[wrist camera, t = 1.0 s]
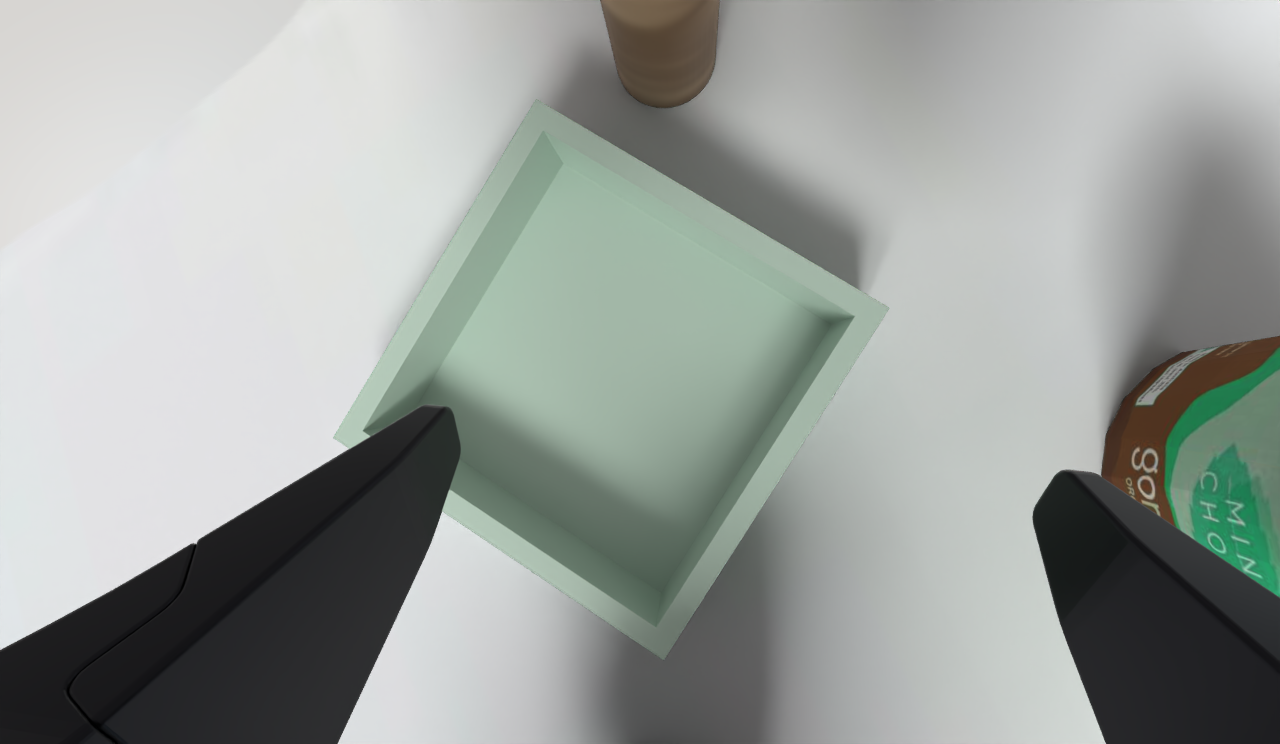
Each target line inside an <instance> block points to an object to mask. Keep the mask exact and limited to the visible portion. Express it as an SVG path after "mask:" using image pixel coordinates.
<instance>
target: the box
mask: <svg viewBox="0 0 1280 744" xmlns="http://www.w3.org/2000/svg"><path fill="white" fill-rule="evenodd" d="M888 310H889V307H887V306H885V305H884V304H882V303H880V302H879V301H877V300H875V299H873V298H872V297H870V296H868V295H867V294H865V293H863V292H862V291H860V290H858V289H857V288H855V287H853V286H851V285H850V284H848V283H846V282H845V281H843V280H841V279H840V278H838V277H836V276H835V275H833V274H831V273H829V272H828V271H826V270H824V269H823V268H821V267H819V266H818V265H816V264H814V263H813V262H811V261H809V260H807V259H806V258H804V257H802V256H801V255H799V254H797V253H796V252H794V251H792V250H791V249H789V248H787V247H786V246H784V245H782V244H780V243H779V242H777V241H775V240H774V239H772V238H770V237H769V236H767V235H765V234H764V233H762V232H760V231H758V230H757V229H755V228H753V227H752V226H750V225H748V224H747V223H745V222H743V221H742V220H740V219H738V218H736V217H735V216H733V215H731V214H730V213H728V212H726V211H725V210H723V209H721V208H720V207H718V206H716V205H715V204H713V203H711V202H709V201H708V200H706V199H704V198H703V197H701V196H699V195H698V194H696V193H694V192H693V191H691V190H689V189H687V188H686V187H684V186H682V185H681V184H679V183H677V182H676V181H674V180H672V179H671V178H669V177H667V176H665V175H664V174H662V173H660V172H659V171H657V170H655V169H654V168H652V167H650V166H649V165H647V164H645V163H644V162H642V161H640V160H638V159H637V158H635V157H633V156H632V155H630V154H628V153H627V152H625V151H623V150H622V149H620V148H618V147H616V146H615V145H613V144H611V143H610V142H608V141H606V140H605V139H603V138H601V137H600V136H598V135H596V134H594V133H593V132H591V131H589V130H588V129H586V128H584V127H583V126H581V125H579V124H578V123H576V122H574V121H572V120H571V119H569V118H567V117H566V116H564V115H562V114H561V113H559V112H557V111H556V110H554V109H552V108H551V107H549V106H547V105H545V104H544V103H542V102H540V101H539V100H537V99H536V100H535V102H534V103H533V105H532V107H531V108H530V110H529V112H528V113H527V115H526V117H525V118H524V120H523V122H522V123H521V125H520V127H519V128H518V130H517V132H516V133H515V135H514V137H513V138H512V140H511V142H510V143H509V145H508V147H507V148H506V150H505V152H504V153H503V155H502V157H501V158H500V160H499V162H498V163H497V165H496V167H495V168H494V170H493V172H492V173H491V175H490V177H489V178H488V180H487V182H486V183H485V185H484V187H483V188H482V190H481V192H480V193H479V195H478V197H477V198H476V200H475V202H474V203H473V205H472V207H471V208H470V210H469V212H468V213H467V215H466V217H465V218H464V220H463V222H462V224H461V225H460V227H459V229H458V230H457V232H456V234H455V235H454V237H453V239H452V240H451V242H450V244H449V245H448V247H447V249H446V250H445V252H444V254H443V255H442V257H441V259H440V260H439V262H438V264H437V265H436V267H435V269H434V270H433V272H432V274H431V275H430V277H429V279H428V280H427V282H426V284H425V285H424V287H423V289H422V290H421V292H420V294H419V295H418V297H417V299H416V300H415V302H414V304H413V305H412V307H411V309H410V310H409V312H408V314H407V315H406V317H405V319H404V320H403V322H402V324H401V325H400V327H399V329H398V330H397V332H396V334H395V335H394V337H393V339H392V340H391V342H390V344H389V345H388V347H387V349H386V350H385V352H384V354H383V355H382V357H381V359H380V360H379V362H378V364H377V365H376V367H375V369H374V370H373V372H372V374H371V375H370V377H369V379H368V380H367V382H366V384H365V385H364V387H363V389H362V390H361V392H360V394H359V395H358V397H357V399H356V400H355V402H354V404H353V405H352V407H351V409H350V410H349V412H348V414H347V415H346V417H345V419H344V420H343V422H342V424H341V425H340V427H339V429H338V430H337V432H336V434H335V435H334V437H333V438H334V439H336V440H337V441H339V442H340V443H342V444H343V445H345V446H346V447H348V448H349V449H350V448H352V447H353V446H355V445H357V444H358V443H360V442H362V441H363V440H365V439H367V438H368V437H370V436H372V435H373V434H375V433H377V432H378V431H380V430H382V429H383V428H385V427H387V426H388V425H390V424H392V423H393V422H395V421H397V420H398V419H400V418H402V417H403V416H405V415H407V414H408V413H410V412H412V411H413V410H415V409H417V408H418V407H420V406H422V405H425V404H432V405H442V406H448V407H450V408H451V409H452V411H453V413H454V417H455V421H456V425H457V430H458V434H459V439H460V443H461V454H460V459H459V462H458V465H457V468H456V471H455V474H454V477H453V480H452V483H451V486H450V489H449V492H448V495H447V498H446V501H445V504H444V507H443V510H442V511H443V512H444V513H445V514H447V515H448V516H450V517H451V518H453V519H454V520H456V521H457V522H459V523H460V524H462V525H463V526H465V527H466V528H468V529H469V530H471V531H472V532H474V533H475V534H477V535H478V536H480V537H481V538H483V539H484V540H486V541H487V542H488V543H490V544H491V545H493V546H494V547H496V548H497V549H499V550H500V551H502V552H503V553H505V554H506V555H508V556H509V557H511V558H512V559H514V560H515V561H517V562H518V563H520V564H521V565H523V566H524V567H526V568H527V569H529V570H530V571H532V572H533V573H534V574H536V575H537V576H539V577H540V578H542V579H543V580H545V581H546V582H548V583H549V584H551V585H552V586H554V587H555V588H557V589H558V590H560V591H561V592H563V593H564V594H566V595H567V596H569V597H570V598H572V599H573V600H575V601H576V602H577V603H579V604H580V605H582V606H583V607H585V608H586V609H588V610H589V611H591V612H592V613H594V614H595V615H597V616H598V617H600V618H601V619H603V620H604V621H606V622H607V623H609V624H610V625H612V626H613V627H615V628H616V629H618V630H619V631H621V632H622V633H623V634H625V635H626V636H628V637H629V638H631V639H632V640H634V641H635V642H637V643H638V644H640V645H641V646H643V647H644V648H646V649H647V650H649V651H650V652H652V653H653V654H655V655H656V656H658V657H659V658H661V659H662V660H664V659H665V658H666V656H667V655H668V653H669V652H670V650H671V649H672V647H673V645H674V644H675V642H676V641H677V639H678V638H679V636H680V634H681V633H682V631H683V630H684V628H685V627H686V625H687V624H688V622H689V620H690V619H691V617H692V616H693V614H694V613H695V611H696V610H697V608H698V606H699V605H700V603H701V602H702V600H703V599H704V597H705V595H706V594H707V592H708V591H709V589H710V588H711V586H712V585H713V583H714V581H715V580H716V578H717V577H718V575H719V574H720V572H721V571H722V569H723V567H724V566H725V564H726V563H727V561H728V560H729V558H730V556H731V555H732V553H733V552H734V550H735V549H736V547H737V546H738V544H739V542H740V541H741V539H742V538H743V536H744V535H745V533H746V532H747V530H748V528H749V527H750V525H751V524H752V522H753V521H754V519H755V517H756V516H757V514H758V513H759V511H760V510H761V508H762V507H763V505H764V503H765V502H766V500H767V499H768V497H769V496H770V494H771V493H772V491H773V489H774V488H775V486H776V485H777V483H778V482H779V480H780V478H781V477H782V475H783V474H784V472H785V471H786V469H787V468H788V466H789V464H790V463H791V461H792V460H793V458H794V457H795V455H796V454H797V452H798V450H799V449H800V447H801V446H802V444H803V443H804V441H805V439H806V438H807V436H808V435H809V433H810V432H811V430H812V429H813V427H814V425H815V424H816V422H817V421H818V419H819V418H820V416H821V415H822V413H823V411H824V410H825V408H826V407H827V405H828V404H829V402H830V400H831V399H832V397H833V396H834V394H835V393H836V391H837V390H838V388H839V386H840V385H841V383H842V382H843V380H844V379H845V377H846V376H847V374H848V372H849V371H850V369H851V368H852V366H853V365H854V363H855V361H856V360H857V358H858V357H859V355H860V354H861V352H862V351H863V349H864V347H865V346H866V344H867V343H868V341H869V340H870V338H871V337H872V335H873V333H874V332H875V330H876V329H877V327H878V326H879V324H880V322H881V321H882V319H883V318H884V316H885V315H886V313H887V312H888Z"/></svg>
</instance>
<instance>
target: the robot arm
mask: <svg viewBox="0 0 1280 744" xmlns="http://www.w3.org/2000/svg"><path fill="white" fill-rule="evenodd" d="M460 454H461V443H460V439H459V434H458V430H457V425H456V421H455V417H454V413H453V411H452V409H451V408H450V407H448V406H442V405H432V404H425V405H422V406H420V407H418V408H417V409H415V410H413V411H412V412H410V413H408V414H407V415H405V416H403V417H402V418H400V419H398V420H397V421H395V422H393V423H392V424H390V425H388V426H387V427H385V428H383V429H382V430H380V431H378V432H377V433H375V434H373V435H372V436H370V437H368V438H367V439H365V440H363V441H362V442H360V443H358V444H357V445H355V446H353V447H352V448H350V449H348V450H347V451H345V452H343V453H342V454H340V455H338V456H337V457H335V458H333V459H332V460H330V461H328V462H327V463H325V464H323V465H322V466H320V467H318V468H317V469H315V470H313V471H312V472H310V473H308V474H307V475H305V476H304V477H302V478H300V479H299V480H297V481H295V482H294V483H292V484H290V485H289V486H287V487H285V488H284V489H282V490H280V491H279V492H277V493H275V494H274V495H272V496H270V497H269V498H267V499H265V500H264V501H262V502H260V503H259V504H257V505H255V506H254V507H252V508H250V509H249V510H247V511H245V512H244V513H242V514H240V515H239V516H237V517H235V518H234V519H232V520H230V521H229V522H227V523H225V524H224V525H222V526H220V527H219V528H217V529H215V530H214V531H212V532H210V533H209V534H207V535H205V536H204V537H202V538H200V539H199V540H198V542H197V544H194V543H193V544H190V545H188V546H187V547H185V548H183V549H182V550H180V551H178V552H177V553H175V554H173V555H172V556H170V557H168V558H167V559H165V560H163V561H162V562H160V563H158V564H157V565H155V566H153V567H151V568H150V569H148V570H146V571H144V572H143V573H141V574H139V575H138V576H136V577H134V578H132V579H131V580H129V581H127V582H125V583H124V584H122V585H120V586H119V587H117V588H115V589H113V590H112V591H110V592H108V593H106V594H104V595H102V596H101V597H99V598H97V599H95V600H93V601H91V602H90V603H88V604H86V605H84V606H82V607H80V608H79V609H77V610H75V611H73V612H71V613H69V614H67V615H66V616H64V617H62V618H60V619H58V620H56V621H55V622H53V623H51V624H49V625H47V626H45V627H43V628H41V629H39V630H38V631H36V632H34V633H32V634H30V635H28V636H26V637H24V638H22V639H20V640H19V641H17V642H15V643H13V644H11V645H9V646H7V647H5V648H3V649H2V650H0V744H338V741H339V739H340V737H341V735H342V733H343V731H344V729H345V727H346V724H347V722H348V720H349V718H350V716H351V714H352V712H353V709H354V707H355V705H356V703H357V701H358V699H359V697H360V694H361V692H362V690H363V688H364V686H365V684H366V682H367V680H368V677H369V675H370V673H371V671H372V669H373V667H374V665H375V662H376V660H377V658H378V656H379V654H380V652H381V650H382V647H383V645H384V643H385V641H386V639H387V637H388V635H389V633H390V630H391V628H392V626H393V624H394V622H395V620H396V618H397V615H398V613H399V611H400V609H401V607H402V605H403V603H404V600H405V598H406V596H407V594H408V592H409V590H410V588H411V586H412V583H413V581H414V579H415V577H416V575H417V573H418V571H419V568H420V566H421V564H422V562H423V560H424V558H425V555H426V553H427V551H428V549H429V546H430V544H431V541H432V539H433V536H434V533H435V530H436V528H437V525H438V522H439V519H440V516H441V513H442V510H443V507H444V504H445V501H446V498H447V495H448V492H449V489H450V486H451V483H452V480H453V477H454V474H455V471H456V468H457V465H458V462H459V459H460ZM1033 525H1034V529H1035V533H1036V537H1037V540H1038V544H1039V548H1040V552H1041V555H1042V559H1043V563H1044V567H1045V571H1046V574H1047V578H1048V582H1049V586H1050V589H1051V593H1052V597H1053V601H1054V605H1055V608H1056V611H1057V615H1058V618H1059V621H1060V624H1061V627H1062V630H1063V633H1064V636H1065V639H1066V641H1067V644H1068V646H1069V649H1070V652H1071V654H1072V657H1073V659H1074V662H1075V665H1076V667H1077V670H1078V672H1079V675H1080V678H1081V680H1082V683H1083V685H1084V688H1085V691H1086V693H1087V696H1088V698H1089V701H1090V703H1091V706H1092V709H1093V711H1094V714H1095V716H1096V719H1097V722H1098V724H1099V727H1100V729H1101V732H1102V735H1103V737H1104V740H1105V742H1106V744H1280V597H1278V596H1277V595H1275V594H1274V593H1273V592H1271V591H1270V590H1268V589H1267V588H1265V587H1264V586H1262V585H1261V584H1259V583H1258V582H1256V581H1255V580H1253V579H1252V578H1250V577H1249V576H1247V575H1246V574H1244V573H1243V572H1241V571H1240V570H1239V569H1237V568H1236V567H1234V566H1233V565H1231V564H1230V563H1228V562H1227V561H1225V560H1224V559H1222V558H1221V557H1219V556H1218V555H1216V554H1215V553H1213V552H1212V551H1210V550H1209V549H1207V548H1206V547H1205V546H1203V545H1202V544H1200V543H1199V542H1197V541H1196V540H1194V539H1193V538H1191V537H1190V536H1188V535H1187V534H1185V533H1184V532H1182V531H1181V530H1179V529H1178V528H1176V527H1175V526H1174V525H1172V524H1171V523H1169V522H1168V521H1166V520H1165V519H1163V518H1162V517H1160V516H1159V515H1157V514H1156V513H1154V512H1153V511H1151V510H1150V509H1148V508H1147V507H1145V506H1144V505H1142V504H1141V503H1140V502H1138V501H1137V500H1135V499H1134V498H1132V497H1131V496H1129V495H1128V494H1126V493H1125V492H1123V491H1122V490H1120V489H1119V488H1117V487H1116V486H1114V485H1113V484H1111V483H1110V482H1109V481H1107V480H1106V479H1104V478H1103V477H1101V476H1100V475H1098V474H1095V473H1092V472H1086V471H1076V470H1062V471H1060V472H1058V473H1057V474H1056V475H1055V476H1054V477H1053V479H1052V481H1051V482H1050V484H1049V485H1048V487H1047V488H1046V490H1045V491H1044V493H1043V494H1042V496H1041V497H1040V499H1039V501H1038V502H1037V504H1036V505H1035V507H1034V511H1033Z"/></svg>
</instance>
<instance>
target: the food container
mask: <svg viewBox="0 0 1280 744" xmlns="http://www.w3.org/2000/svg"><path fill="white" fill-rule="evenodd" d="M1101 476H1102V477H1103V478H1104V479H1106V480H1107V481H1109V482H1110V483H1111V484H1113V485H1114V486H1116V487H1117V488H1119V489H1120V490H1122V491H1123V492H1125V493H1126V494H1128V495H1129V496H1131V497H1132V498H1134V499H1135V500H1137V501H1138V502H1140V503H1141V504H1142V505H1144V506H1145V507H1147V508H1148V509H1150V510H1151V511H1153V512H1154V513H1156V514H1157V515H1159V516H1160V517H1162V518H1163V519H1165V520H1166V521H1168V522H1169V523H1171V524H1172V525H1174V526H1175V527H1176V528H1178V529H1179V530H1181V531H1182V532H1184V533H1185V534H1187V535H1188V536H1190V537H1191V538H1193V539H1194V540H1196V541H1197V542H1199V543H1200V544H1202V545H1203V546H1205V547H1206V548H1207V549H1209V550H1210V551H1212V552H1213V553H1215V554H1216V555H1218V556H1219V557H1221V558H1222V559H1224V560H1225V561H1227V562H1228V563H1230V564H1231V565H1233V566H1234V567H1236V568H1237V569H1239V570H1240V571H1241V572H1243V573H1244V574H1246V575H1247V576H1249V577H1250V578H1252V579H1253V580H1255V581H1256V582H1258V583H1259V584H1261V585H1262V586H1264V587H1265V588H1267V589H1268V590H1270V591H1271V592H1273V593H1274V594H1275V595H1277V596H1278V597H1280V336H1277V337H1271V338H1265V339H1259V340H1253V341H1247V342H1241V343H1235V344H1229V345H1223V346H1217V347H1211V348H1205V349H1199V350H1193V351H1187V352H1182V353H1180V354H1178V355H1177V356H1175V357H1173V358H1171V359H1170V360H1168V361H1166V362H1164V363H1163V364H1161V365H1159V366H1157V367H1156V368H1154V369H1153V370H1152V371H1151V372H1150V373H1149V374H1148V375H1147V376H1146V377H1145V378H1144V379H1143V380H1142V381H1141V382H1140V383H1139V384H1138V385H1137V386H1136V387H1135V388H1134V389H1133V390H1132V391H1131V392H1130V393H1129V394H1128V395H1127V396H1126V397H1125V398H1124V400H1123V402H1122V404H1121V406H1120V408H1119V410H1118V412H1117V414H1116V416H1115V418H1114V420H1113V422H1112V424H1111V426H1110V428H1109V430H1108V432H1107V434H1106V439H1105V447H1104V455H1103V464H1102V472H1101Z"/></svg>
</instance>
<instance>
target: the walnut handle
mask: <svg viewBox="0 0 1280 744" xmlns="http://www.w3.org/2000/svg"><path fill="white" fill-rule="evenodd" d="M600 1H601V6H602V10H603V14H604V18H605V22H606V26H607V30H608V34H609V38H610V43H611V47H612V51H613V55H614V59H615V63H616V67H617V71H618V75H619V78H620V80H621V82H622V84H623V86H624V87H625V89H626V90H627V91H628V93H629V94H630V95H631V96H633V97H634V98H635V99H636V100H638V101H639V102H641V103H643V104H646V105H649V106H652V107H657V108H669V107H675V106H678V105H681V104H684V103H686V102H688V101H690V100H691V99H693V98H694V97H695V96H697V95H698V94H699V93H700V92H701V91H702V90H703V89H704V87H705V86H706V84H707V83H708V81H709V79H710V78H711V75H712V72H713V69H714V65H715V56H716V42H717V29H718V16H719V2H720V0H600Z"/></svg>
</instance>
